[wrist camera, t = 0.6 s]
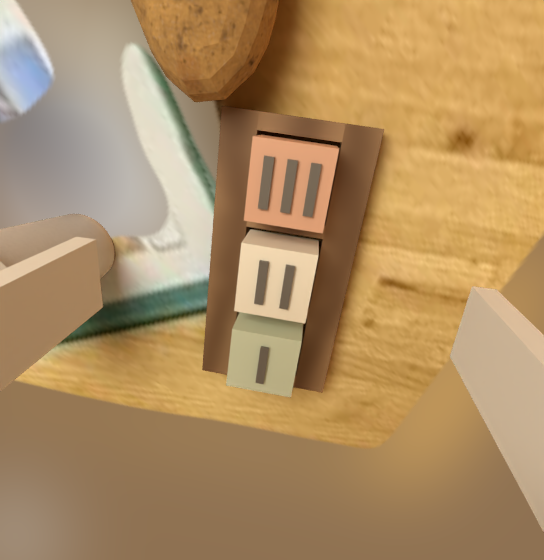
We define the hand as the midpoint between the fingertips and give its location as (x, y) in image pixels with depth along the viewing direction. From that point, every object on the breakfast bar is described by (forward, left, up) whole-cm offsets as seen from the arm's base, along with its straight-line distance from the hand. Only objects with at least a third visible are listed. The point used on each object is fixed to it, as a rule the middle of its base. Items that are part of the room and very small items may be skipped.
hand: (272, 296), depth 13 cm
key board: (-1, -6, -20) cm, 21 cm away
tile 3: (-1, +2, -19) cm, 19 cm away
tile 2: (-1, -6, -19) cm, 19 cm away
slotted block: (-1, -13, -19) cm, 23 cm away
